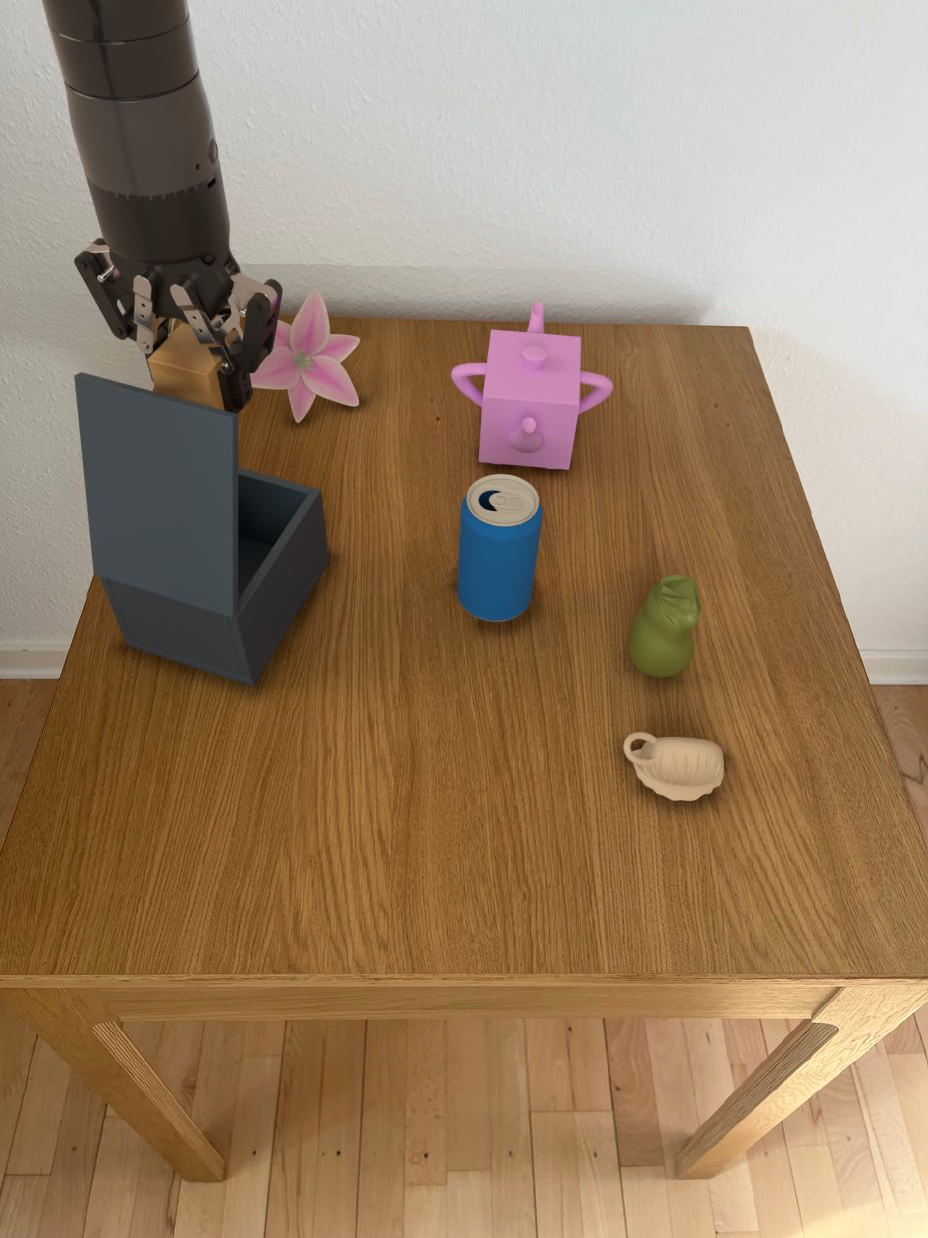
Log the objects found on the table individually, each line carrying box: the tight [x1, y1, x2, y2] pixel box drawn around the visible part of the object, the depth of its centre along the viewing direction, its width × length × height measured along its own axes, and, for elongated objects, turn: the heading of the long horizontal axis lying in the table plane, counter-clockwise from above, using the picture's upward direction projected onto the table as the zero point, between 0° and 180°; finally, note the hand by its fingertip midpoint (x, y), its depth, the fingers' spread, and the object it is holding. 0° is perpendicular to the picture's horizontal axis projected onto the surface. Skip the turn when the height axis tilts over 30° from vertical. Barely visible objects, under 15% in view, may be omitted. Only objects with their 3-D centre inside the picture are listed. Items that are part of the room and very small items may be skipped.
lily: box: [250, 287, 361, 424], centre depth 96 cm, size 12×12×10 cm
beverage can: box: [456, 473, 544, 622], centre depth 77 cm, size 6×6×12 cm
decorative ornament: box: [622, 731, 725, 802], centre depth 70 cm, size 4×8×5 cm, turn 84°
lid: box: [73, 371, 240, 617], centre depth 65 cm, size 15×12×1 cm
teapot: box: [450, 301, 614, 471], centre depth 91 cm, size 15×13×11 cm
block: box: [148, 322, 229, 411], centre depth 65 cm, size 4×4×4 cm
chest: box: [98, 466, 330, 688], centre depth 77 cm, size 15×12×9 cm
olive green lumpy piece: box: [627, 574, 702, 679], centre depth 74 cm, size 6×5×10 cm
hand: (205, 398), depth 67 cm, fingers closed on block, 4 cm apart
